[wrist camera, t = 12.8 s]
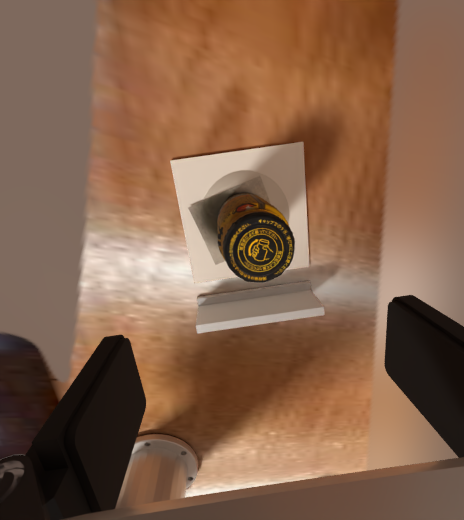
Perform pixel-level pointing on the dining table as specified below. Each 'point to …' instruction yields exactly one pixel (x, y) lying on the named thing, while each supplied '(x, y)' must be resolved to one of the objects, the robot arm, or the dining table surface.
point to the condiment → (246, 232)
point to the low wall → (257, 306)
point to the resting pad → (235, 173)
